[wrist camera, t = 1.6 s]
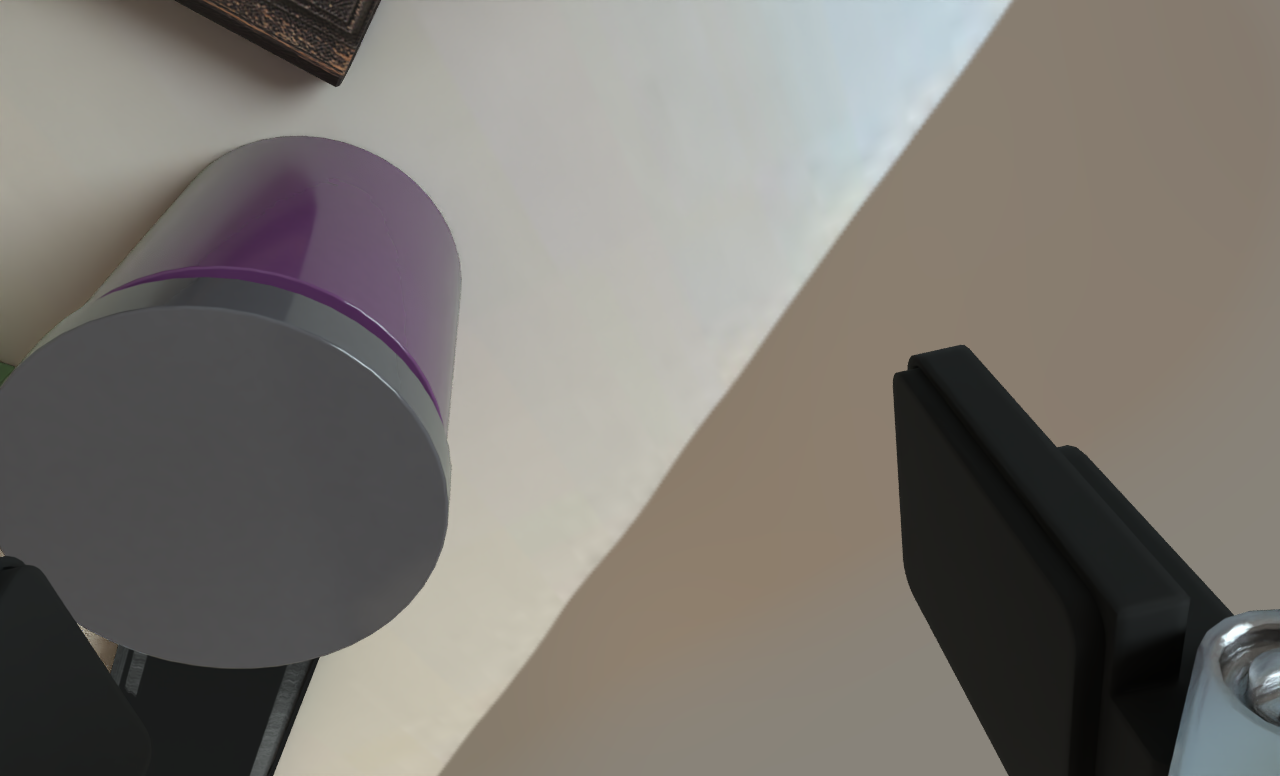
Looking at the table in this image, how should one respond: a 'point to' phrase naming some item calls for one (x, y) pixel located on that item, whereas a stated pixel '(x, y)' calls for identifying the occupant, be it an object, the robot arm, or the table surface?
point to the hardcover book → (298, 29)
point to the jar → (246, 416)
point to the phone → (212, 713)
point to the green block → (5, 372)
